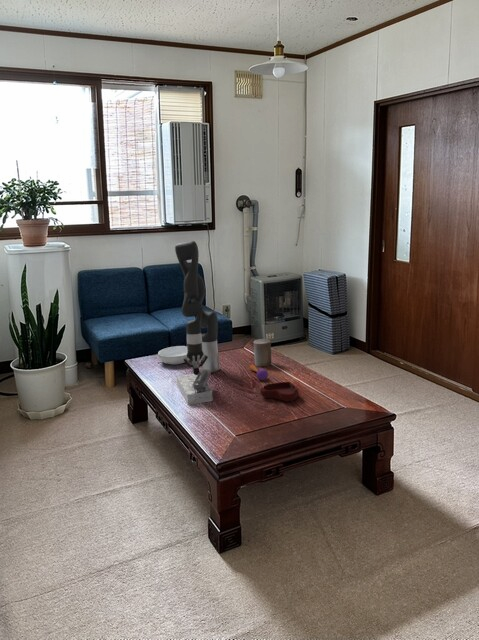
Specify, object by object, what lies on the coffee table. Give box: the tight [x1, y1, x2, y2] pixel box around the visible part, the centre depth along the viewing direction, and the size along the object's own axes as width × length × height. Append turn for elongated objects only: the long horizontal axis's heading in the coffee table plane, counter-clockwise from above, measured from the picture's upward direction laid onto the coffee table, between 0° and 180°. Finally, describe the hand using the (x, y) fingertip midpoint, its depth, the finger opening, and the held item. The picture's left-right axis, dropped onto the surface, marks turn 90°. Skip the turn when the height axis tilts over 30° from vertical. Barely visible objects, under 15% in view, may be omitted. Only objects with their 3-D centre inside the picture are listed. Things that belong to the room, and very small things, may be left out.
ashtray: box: [259, 381, 299, 403], centre depth 268 cm, size 18×16×5 cm
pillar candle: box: [253, 338, 273, 368], centre depth 315 cm, size 10×10×15 cm
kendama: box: [249, 364, 269, 381], centre depth 298 cm, size 6×6×20 cm
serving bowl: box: [157, 345, 191, 365], centre depth 327 cm, size 21×21×7 cm
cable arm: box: [193, 368, 212, 389], centre depth 273 cm, size 5×22×3 cm, turn 173°
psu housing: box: [176, 373, 214, 406], centre depth 277 cm, size 12×28×7 cm, turn 17°
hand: (196, 374), depth 282 cm, fingers closed
